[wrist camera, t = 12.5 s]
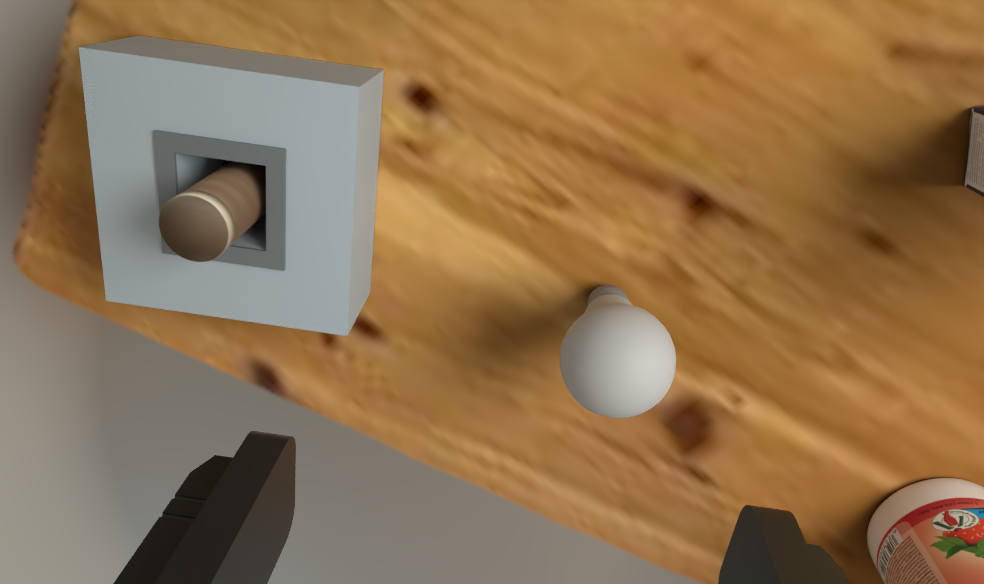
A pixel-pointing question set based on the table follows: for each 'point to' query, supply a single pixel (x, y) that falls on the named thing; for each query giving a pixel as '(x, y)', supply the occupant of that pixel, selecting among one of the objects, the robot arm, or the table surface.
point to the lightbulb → (617, 356)
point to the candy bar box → (976, 152)
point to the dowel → (214, 211)
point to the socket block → (242, 138)
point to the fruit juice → (930, 534)
